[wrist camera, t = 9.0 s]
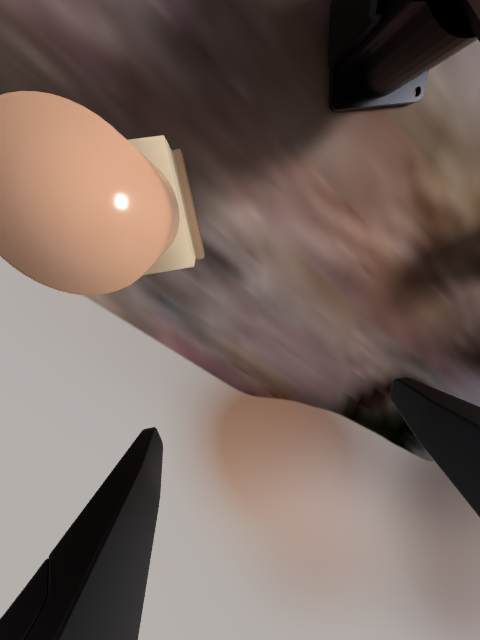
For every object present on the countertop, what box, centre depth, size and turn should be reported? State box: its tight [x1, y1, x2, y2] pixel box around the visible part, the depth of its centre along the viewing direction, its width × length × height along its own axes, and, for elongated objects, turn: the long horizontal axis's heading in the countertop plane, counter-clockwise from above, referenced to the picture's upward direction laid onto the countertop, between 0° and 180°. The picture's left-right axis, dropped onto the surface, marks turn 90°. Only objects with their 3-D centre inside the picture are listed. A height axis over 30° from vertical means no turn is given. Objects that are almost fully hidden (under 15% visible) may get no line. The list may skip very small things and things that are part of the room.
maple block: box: [128, 135, 196, 275], centre depth 12 cm, size 6×6×4 cm
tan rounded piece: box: [0, 91, 180, 295], centre depth 8 cm, size 5×5×5 cm
